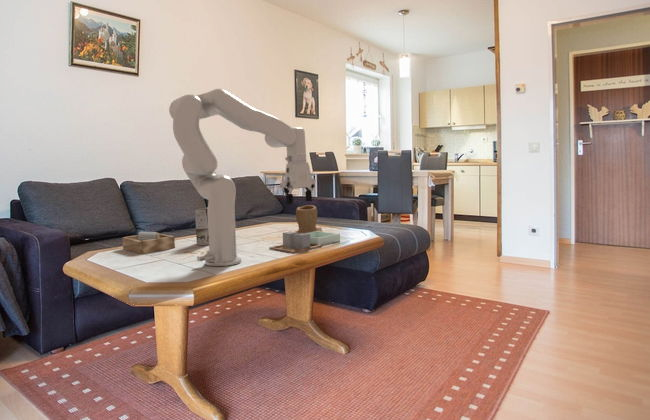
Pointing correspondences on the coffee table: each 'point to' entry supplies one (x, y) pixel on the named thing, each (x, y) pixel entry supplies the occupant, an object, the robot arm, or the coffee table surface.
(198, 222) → the coffee box
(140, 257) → the coffee table surface
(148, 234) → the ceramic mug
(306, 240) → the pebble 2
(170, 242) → the wooden box
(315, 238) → the pale green square tray
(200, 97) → the robot arm
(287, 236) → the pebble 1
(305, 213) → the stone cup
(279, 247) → the tray
